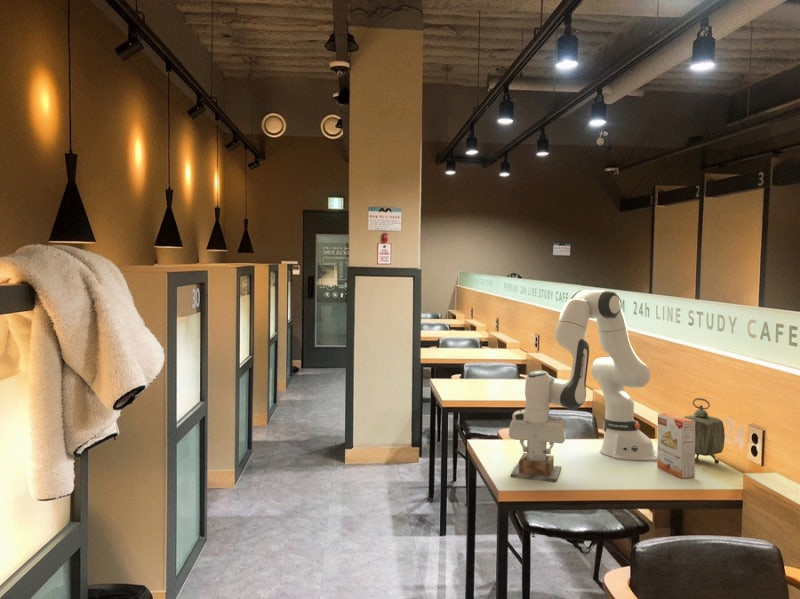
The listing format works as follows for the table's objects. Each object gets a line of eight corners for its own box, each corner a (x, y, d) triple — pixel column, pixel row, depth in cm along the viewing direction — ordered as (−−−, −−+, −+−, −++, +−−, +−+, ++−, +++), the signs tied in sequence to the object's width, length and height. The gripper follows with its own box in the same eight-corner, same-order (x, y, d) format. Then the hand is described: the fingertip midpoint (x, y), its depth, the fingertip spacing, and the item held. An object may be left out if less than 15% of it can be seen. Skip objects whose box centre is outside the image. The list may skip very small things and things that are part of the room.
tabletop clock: (724, 464, 237) (725, 400, 237) (710, 468, 233) (711, 402, 232) (689, 455, 250) (690, 394, 249) (675, 458, 245) (676, 396, 245)
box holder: (561, 469, 231) (561, 454, 231) (556, 482, 216) (556, 466, 216) (518, 464, 236) (518, 450, 236) (510, 476, 221) (510, 461, 221)
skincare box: (531, 467, 223) (531, 434, 223) (526, 464, 227) (526, 431, 227) (547, 466, 224) (547, 433, 224) (541, 463, 229) (541, 430, 228)
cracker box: (656, 467, 233) (657, 413, 233) (669, 466, 235) (670, 412, 234) (680, 479, 220) (681, 421, 219) (695, 478, 221) (696, 420, 220)
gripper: (567, 415, 225) (566, 453, 225) (511, 411, 232) (510, 447, 232) (565, 419, 219) (564, 457, 219) (508, 414, 226) (507, 452, 226)
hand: (536, 452), depth 226 cm, fingers closed on skincare box, 7 cm apart
